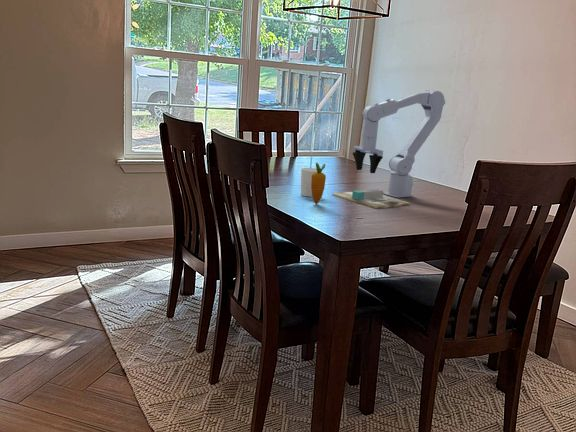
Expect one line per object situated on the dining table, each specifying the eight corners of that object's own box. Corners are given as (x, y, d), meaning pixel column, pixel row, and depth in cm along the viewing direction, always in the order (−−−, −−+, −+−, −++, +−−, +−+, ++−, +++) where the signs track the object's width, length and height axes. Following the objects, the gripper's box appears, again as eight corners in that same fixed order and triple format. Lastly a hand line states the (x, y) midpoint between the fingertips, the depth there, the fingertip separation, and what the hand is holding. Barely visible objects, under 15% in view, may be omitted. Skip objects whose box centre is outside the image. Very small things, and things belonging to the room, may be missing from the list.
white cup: (302, 197, 200) (304, 170, 197) (296, 192, 207) (298, 167, 205) (322, 197, 202) (324, 171, 200) (315, 193, 209) (318, 168, 207)
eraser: (378, 195, 208) (379, 188, 207) (384, 197, 206) (385, 190, 205) (351, 198, 200) (352, 190, 199) (357, 200, 197) (358, 192, 197)
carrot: (322, 203, 192) (326, 162, 188) (324, 206, 187) (327, 163, 183) (308, 202, 191) (312, 161, 188) (309, 205, 186) (313, 163, 183)
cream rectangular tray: (365, 192, 218) (365, 188, 218) (410, 205, 200) (410, 200, 199) (332, 195, 208) (332, 190, 207) (376, 208, 189) (376, 203, 189)
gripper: (349, 135, 211) (346, 168, 214) (375, 139, 200) (371, 174, 203) (362, 135, 215) (358, 168, 219) (388, 139, 204) (384, 174, 207)
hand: (365, 171), depth 211 cm, fingers open, 7 cm apart
